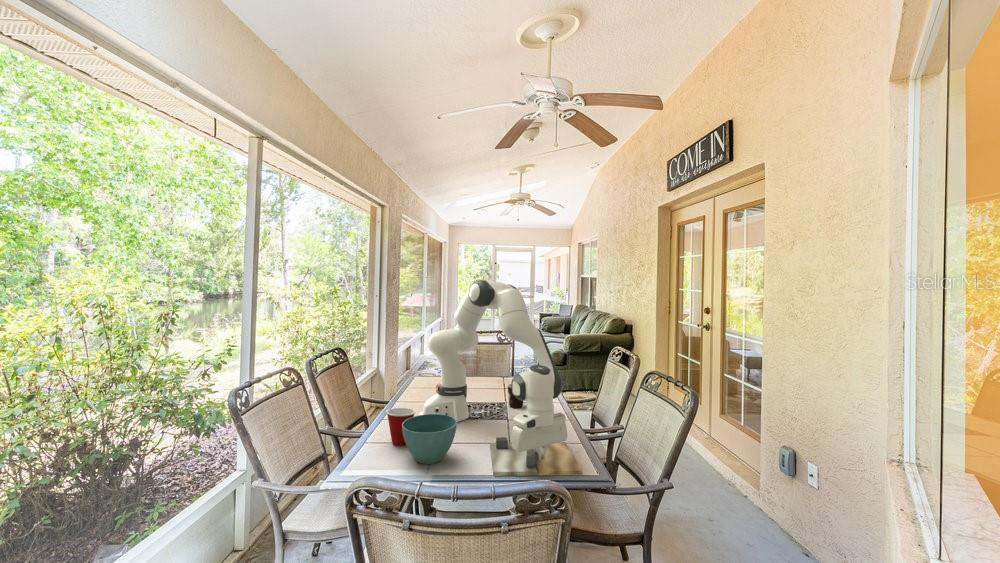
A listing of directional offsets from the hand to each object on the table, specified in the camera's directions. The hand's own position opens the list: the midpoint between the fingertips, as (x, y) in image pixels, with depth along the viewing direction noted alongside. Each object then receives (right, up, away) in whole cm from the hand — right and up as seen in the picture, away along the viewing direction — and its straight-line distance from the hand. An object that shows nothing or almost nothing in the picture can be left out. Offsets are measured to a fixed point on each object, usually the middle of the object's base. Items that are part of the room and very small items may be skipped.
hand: (540, 459), depth 130 cm
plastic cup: (-50, -2, +18) cm, 53 cm away
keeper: (-13, -1, +12) cm, 18 cm away
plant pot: (-37, -2, +5) cm, 38 cm away
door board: (-2, -3, +6) cm, 6 cm away
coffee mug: (-5, -3, +64) cm, 65 cm away
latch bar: (-3, -1, +4) cm, 5 cm away
